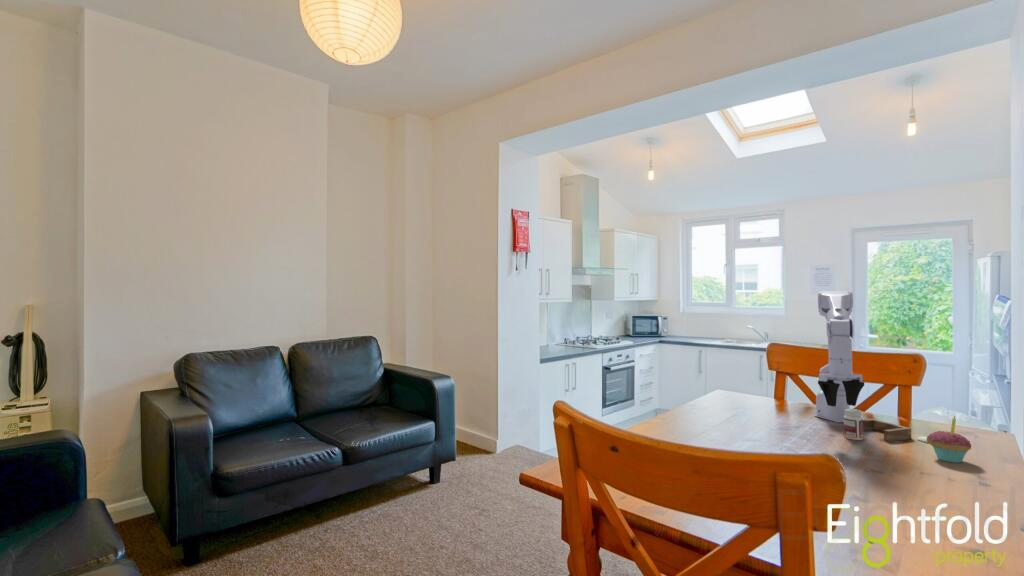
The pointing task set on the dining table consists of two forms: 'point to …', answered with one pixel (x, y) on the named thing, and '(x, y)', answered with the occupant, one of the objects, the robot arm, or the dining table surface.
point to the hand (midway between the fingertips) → (841, 405)
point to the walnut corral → (888, 429)
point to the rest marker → (922, 439)
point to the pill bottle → (853, 424)
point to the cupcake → (949, 444)
